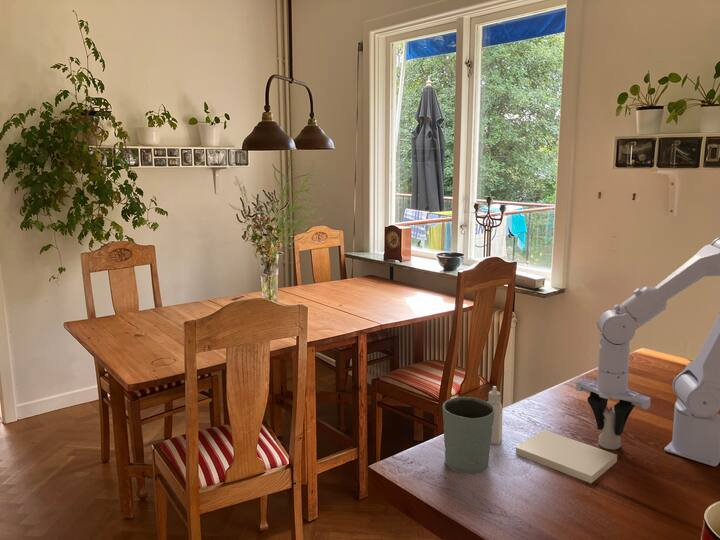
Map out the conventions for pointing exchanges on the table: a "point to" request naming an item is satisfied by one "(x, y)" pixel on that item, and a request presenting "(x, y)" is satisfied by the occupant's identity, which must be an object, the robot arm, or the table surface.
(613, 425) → the rook chess piece
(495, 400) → the eye dropper bottle
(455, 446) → the green cup
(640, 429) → the table surface
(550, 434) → the cream tile
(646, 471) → the table surface
